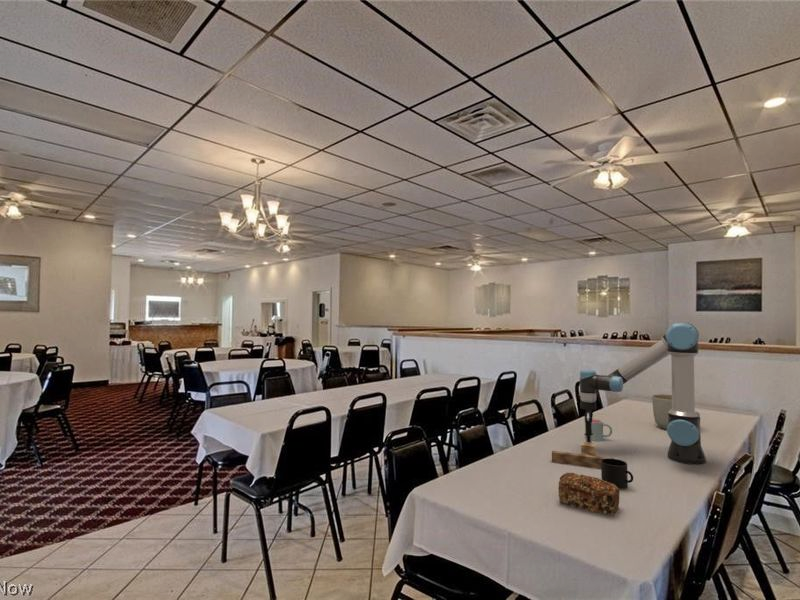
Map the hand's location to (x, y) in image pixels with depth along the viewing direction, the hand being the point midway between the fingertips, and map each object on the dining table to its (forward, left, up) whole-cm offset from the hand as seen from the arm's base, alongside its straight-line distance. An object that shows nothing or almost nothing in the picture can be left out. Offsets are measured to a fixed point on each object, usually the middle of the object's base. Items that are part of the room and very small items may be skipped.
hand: (589, 448), depth 218 cm
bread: (-2, +69, -2) cm, 69 cm away
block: (0, +10, -2) cm, 10 cm away
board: (+2, +25, -1) cm, 25 cm away
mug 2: (-12, +45, -2) cm, 46 cm away
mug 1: (-4, -24, -2) cm, 25 cm away
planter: (-44, -69, -2) cm, 82 cm away
